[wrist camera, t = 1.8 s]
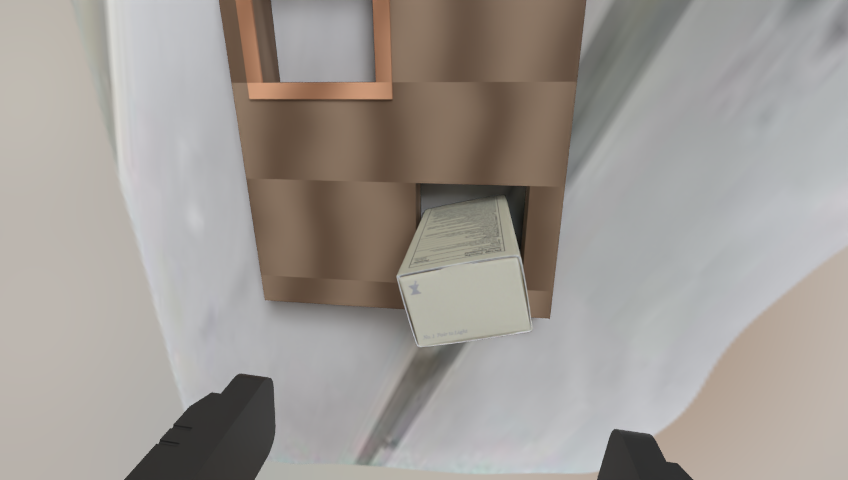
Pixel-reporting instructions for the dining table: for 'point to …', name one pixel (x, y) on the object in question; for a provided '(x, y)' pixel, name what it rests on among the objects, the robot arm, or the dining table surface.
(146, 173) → the dining table surface
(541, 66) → the socket board
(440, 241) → the skincare box
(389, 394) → the dining table surface
